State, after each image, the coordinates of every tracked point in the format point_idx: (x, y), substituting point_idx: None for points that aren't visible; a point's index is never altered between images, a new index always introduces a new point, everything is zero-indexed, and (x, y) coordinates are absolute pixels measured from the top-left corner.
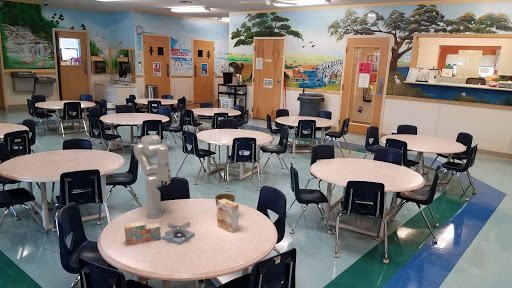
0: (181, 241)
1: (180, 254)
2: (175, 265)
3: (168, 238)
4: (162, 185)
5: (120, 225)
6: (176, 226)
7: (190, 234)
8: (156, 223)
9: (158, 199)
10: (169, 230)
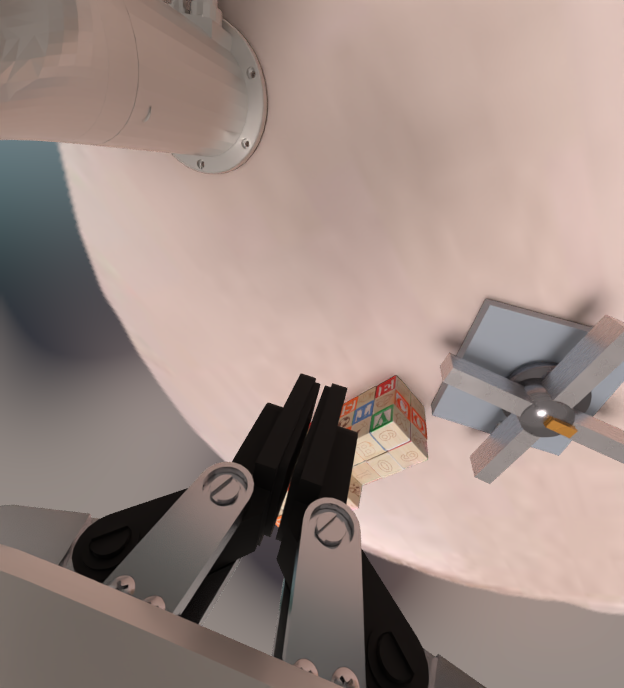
0: (566, 444)
1: (577, 509)
2: (572, 567)
3: (477, 429)
4: (278, 535)
5: (154, 313)
6: (529, 413)
7: (618, 372)
8: (385, 428)
9: (163, 74)
10: (496, 462)
